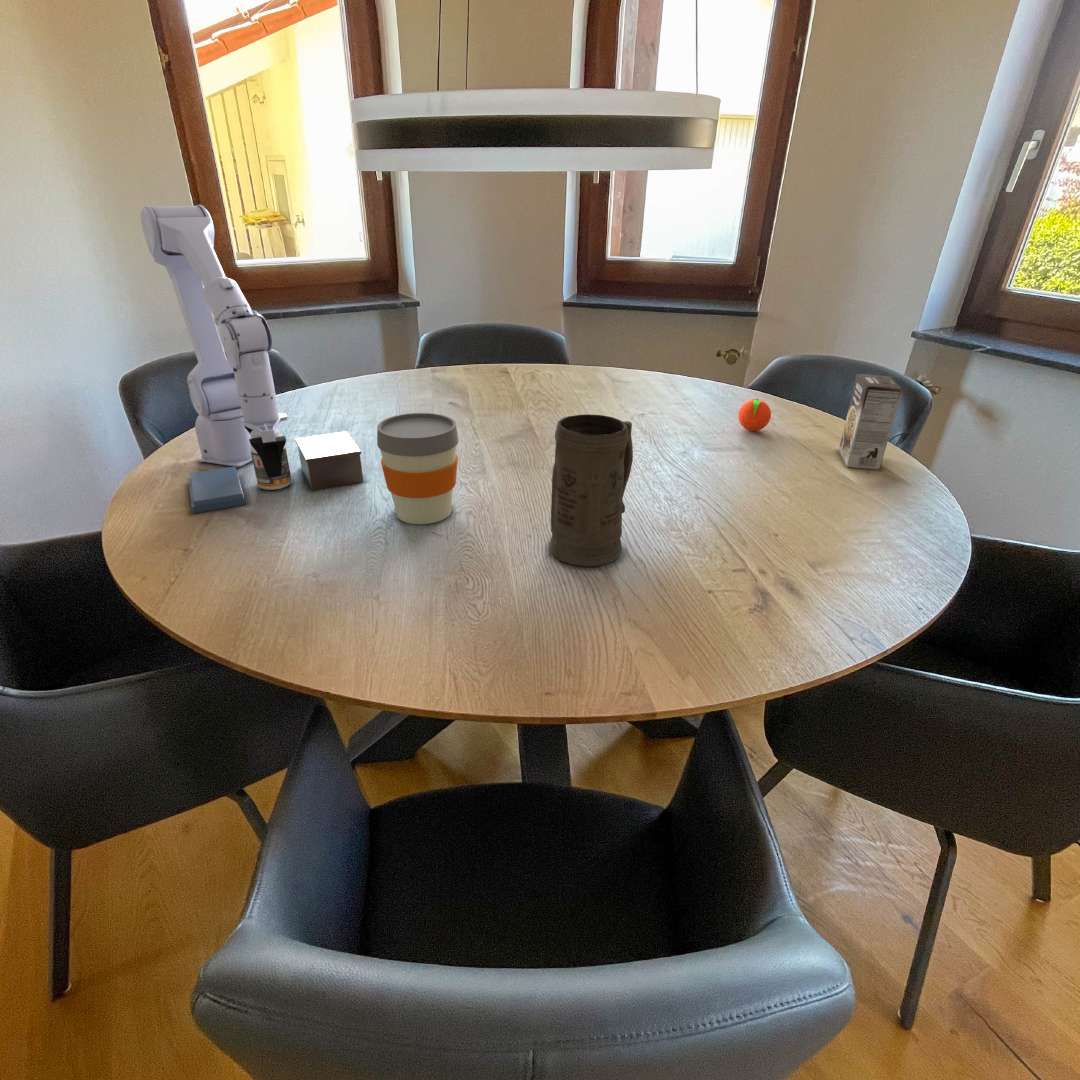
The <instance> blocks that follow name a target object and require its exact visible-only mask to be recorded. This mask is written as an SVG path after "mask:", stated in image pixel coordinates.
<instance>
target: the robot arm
mask: <svg viewBox="0 0 1080 1080" xmlns="http://www.w3.org/2000/svg"><path fill="white" fill-rule="evenodd" d="M140 222H141V223H140V224H141V229H142V233H143V235H144V238H145V241H146V245H147V248H148V250H149V254H150V255H151V256H152V260H153V261H154V263H157V264H158V265H161V266H162V267H164V268H165V269H166V272H167V275H168V276H169V279H170V281H171V284H172V286H173V287H172V288H173V290H174V293H175V296H176V299H177V302H178V305H179V308H180V312H181V314H182V317H183V321H184V323H185V326H186V329H187V332H188V335H189V338H190V339H189V340H190V342H191V345H192V347H193V351H194V353H195V357H196V359H197V364H196V365H195V366H194V367H193V369H192V370H191V371H190V372H189V373H188V375H187V378H186V382H187V384H188V390H189V391H188V392H189V397H190V400H191V404H192V406H193V408H194V410H195V412H196V413H197V414H198V415H197V417H196V420H195V423H194V431H195V434H196V438H197V443H198V446H199V451H200V454H201V457H200V458H198V461H199V462H201V463H209V464H214V465H221V466H227V467H236V468H241V467H243V466H245V465H247V464H248V463H251V462H253V460H252V456H251V451H250V449H251V446H252V447H253V448H254V449H255V450H256V452H257V453H258V455H259V457H260V459H261V461H262V463H263V466H264V469H265V471H266V473H267V475H268V477H269V478H270V477H276V476H281V473H282V454H283V449H284V446H286V444H287V437H286V435H280V437H275V433H274V431H275V430H276V428H277V429H278V427H279V426H280V424H281V422H285V421H288V415H287V414H286V413H280V410H279V405H278V399H277V395H276V389H275V383H274V378H273V373H272V367H271V361H270V356H269V352H271V350H272V349H273V336H272V332H271V328H270V325H269V323H268V322H267V320H266V318H265V317H264V316H263V315H262V314H260V313H258V310H256V309H255V310H253V309H252V308H251V306H250V304H249V302H248V300H247V298H246V297H245V295H244V293H243V292H242V290H241V288H240V286H239V284H238V283H237V281H235V280H234V279H232V278H229V277H227V276H226V274H225V272H224V270H223V267H222V265H221V263H220V261H219V258H218V256H217V253H216V251H215V249H214V248H215V247H214V246H215V226H214V221H213V219H212V216H211V214H210V212H209V211H208V209H206V208H205V206H204V205H202V204H196V205H155V206H154V205H153V206H151V205H148V204H146V205H143V206H142V209H141V210H140ZM217 325H218V327H219V331H218V327H217ZM226 376H227V377H226ZM218 377H223V378H218ZM212 378H215V379H212ZM207 379H210V380H207ZM203 380H206V381H203ZM253 430H254V431H256V432H258V433H260V434H261V437H259V438H251V435H250V433H251V432H252V431H253Z"/></svg>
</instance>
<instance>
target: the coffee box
mask: <svg viewBox="0 0 1080 1080" xmlns="http://www.w3.org/2000/svg"><path fill="white" fill-rule="evenodd" d="M903 390H904V389H903V388H902V386H900V385H899V384H898V383H897V382H896V381H895V380H894V379H893V378H892V377H891V376H890V375H877V374H866V373H865V374H864V373H857V374H856V376H855V380H854V384H853V389H852V393H851V397H850V400H849V401H850V402H849V406H848V411H847V414H846V417H845V418H846V419H845V421H844V426H843V430H842V435H841V439H840V444H839V448H838V453H839V455H840V456H841V458H842V461H843V462H844V463H845V466H846V468H855V469H869V470H880V469H881V465H882V462H883V459H884V455H885V452H886V449H887V445H888V442H889V438H890V434H891V431H892V428H893V426H894V425H893V424H894V421H895V419H896V414H897V411H898V407H899V404H900V400H901V396H902V393H903Z"/></svg>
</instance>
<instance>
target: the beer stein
mask: <svg viewBox="0 0 1080 1080" xmlns="http://www.w3.org/2000/svg"><path fill="white" fill-rule="evenodd" d="M632 429H633V423H632V422H631V421H628V420H625V421H623V420H621V419H618V418H616V417H614V416H609V415H602V414H589V413H584V414H575V415H568V416H565V417H563V418H560V419H559V420H558V421H557V423H556V427H555V432H554V439H555V449H554V463H553V465H552V474H551V499H550V503H551V504H550V532H551V537H550V541H549V550H550V553H551V554H552V555H553V557H555V558H556V559H557V560H559V561H561V562H563V563H566V564H570V565H573V566H578V567H598V566H603V565H607V564H610V563H612V562H614V561H616V560H617V559H618V558H619V557H620V556H621V554H622V548H623V547H622V540H621V537H622V534H623V517H622V516H623V514H625V512H626V505H625V503H624V501H623V499H624V495H625V492H626V488H627V484H628V482H629V478H630V475H631V471H632V466H633V460H634V448H633V447H634V446H633V439H632V438H633V437H632Z"/></svg>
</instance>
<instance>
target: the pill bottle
mask: <svg viewBox="0 0 1080 1080" xmlns="http://www.w3.org/2000/svg"><path fill="white" fill-rule="evenodd" d="M274 433H275V437H280V436H281V432H280V430H279V429H278V427H277V428H276V430H275V431H274ZM250 435H251V438H259V437H261V434H260V433H258V432H256V431H254V430H253V431H252V432H251V433H250ZM250 451H251V456H252V460H253V461H252V464H253V470H254V474H255V479H256V483H257V486H258V487H259V489H262V490H267V491H273V490H274V491H275V490H281V489H284V488H286V487H288V486H290V484H292V475H291V469H290V464H289V457H288V453H287V446H286V445H285V446H284V449H283V454H282V473H281V476H276V477H270V478H269V477H268V475H267V473H266V471H265V469H264V466H263V463H262V461H261V459H260V457H259V455H258V453H257V452H256V450H255V449H254V448H253V447H252V446H251V449H250Z"/></svg>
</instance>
